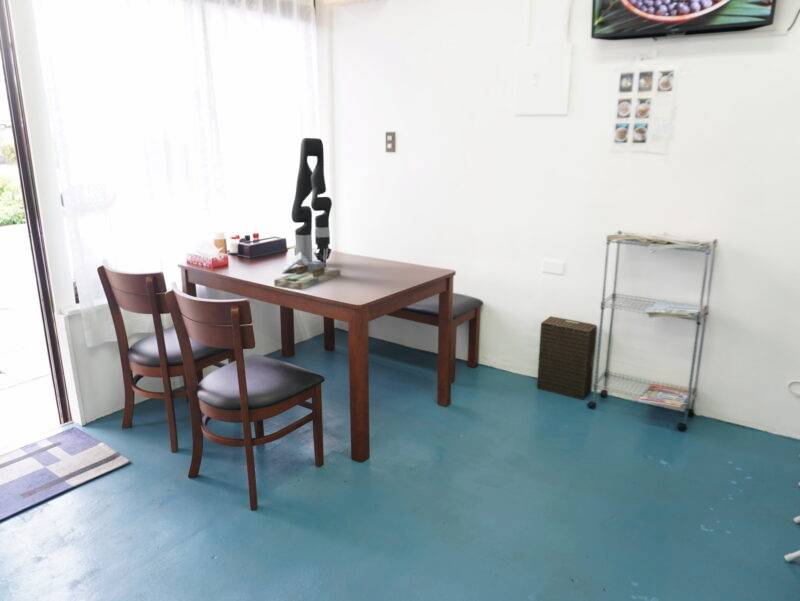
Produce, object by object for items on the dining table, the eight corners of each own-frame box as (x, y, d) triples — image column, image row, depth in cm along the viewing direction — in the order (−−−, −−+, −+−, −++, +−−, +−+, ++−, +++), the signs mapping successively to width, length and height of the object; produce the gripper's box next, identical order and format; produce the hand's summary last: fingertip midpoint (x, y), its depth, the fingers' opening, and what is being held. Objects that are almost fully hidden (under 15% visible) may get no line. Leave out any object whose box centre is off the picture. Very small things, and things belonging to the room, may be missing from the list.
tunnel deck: (274, 285, 281) (273, 272, 279) (316, 271, 311) (315, 260, 309) (300, 289, 274) (300, 276, 272) (340, 275, 304) (340, 263, 302)
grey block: (307, 272, 296) (307, 263, 294) (315, 270, 302) (315, 260, 300) (317, 273, 293) (317, 264, 292) (325, 271, 299) (324, 261, 298)
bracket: (300, 251, 325) (300, 258, 306) (311, 264, 328) (312, 272, 309) (282, 265, 326) (281, 273, 307) (294, 278, 329) (293, 287, 310)
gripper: (323, 233, 305) (324, 264, 310) (309, 236, 293) (310, 269, 298) (335, 234, 301) (336, 266, 306) (321, 237, 290) (322, 270, 295)
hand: (323, 267), depth 302 cm, fingers closed
